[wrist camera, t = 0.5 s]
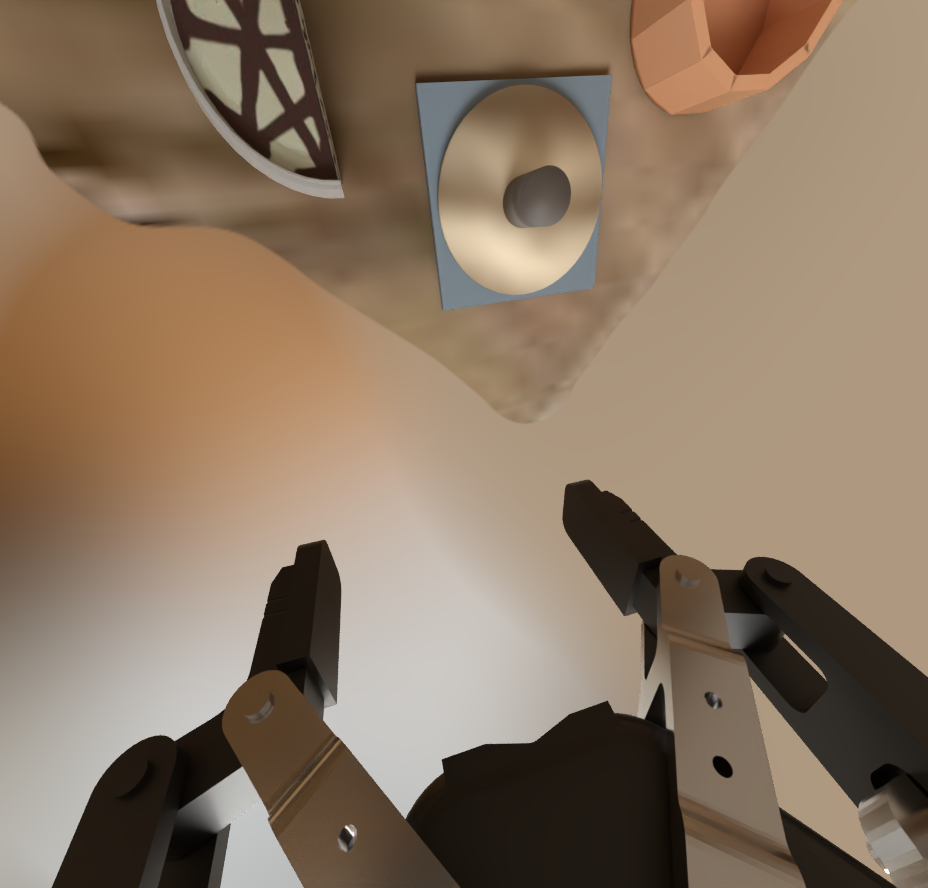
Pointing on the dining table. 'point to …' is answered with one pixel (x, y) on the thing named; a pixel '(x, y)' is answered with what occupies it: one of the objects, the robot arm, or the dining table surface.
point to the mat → (438, 123)
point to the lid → (519, 189)
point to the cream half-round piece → (257, 85)
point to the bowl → (720, 47)
